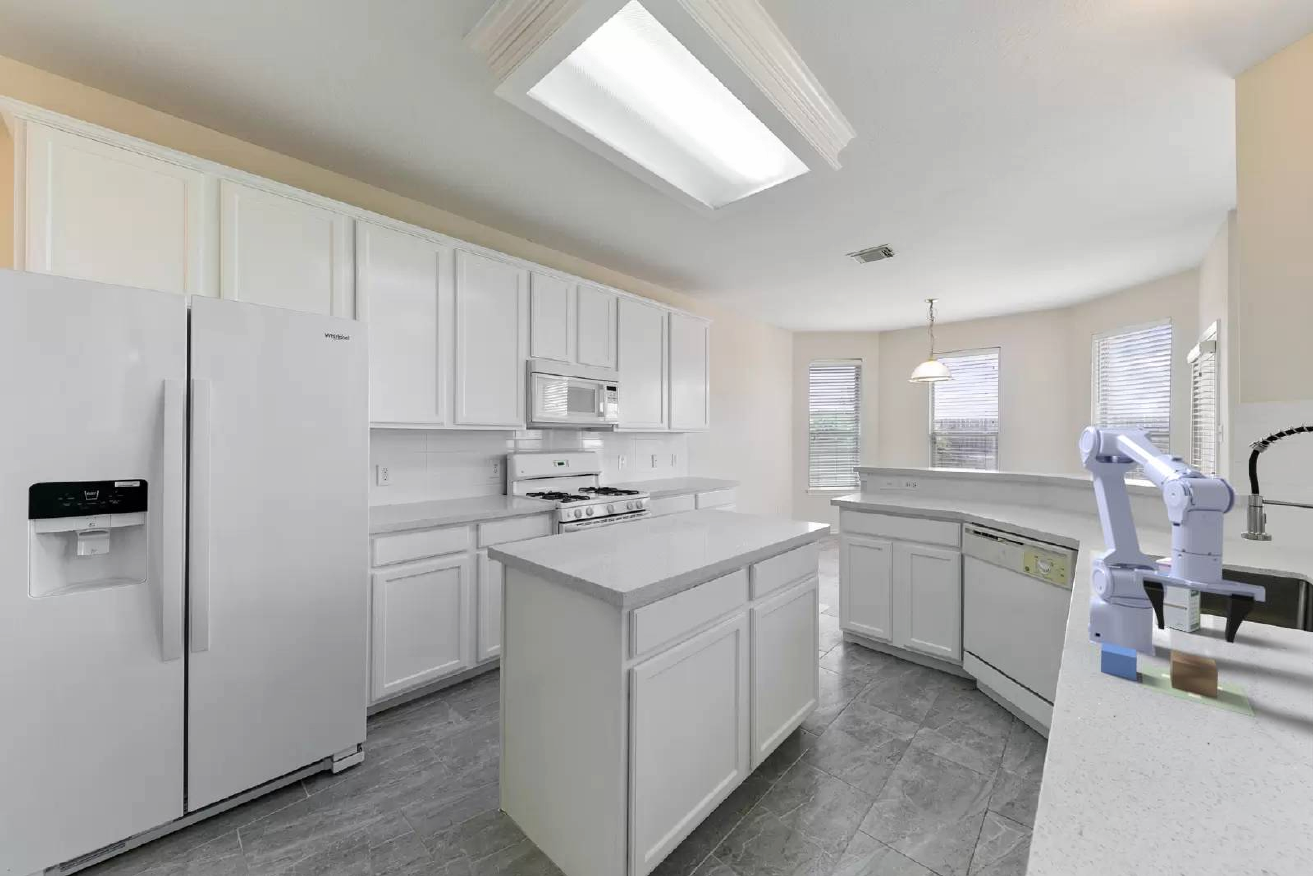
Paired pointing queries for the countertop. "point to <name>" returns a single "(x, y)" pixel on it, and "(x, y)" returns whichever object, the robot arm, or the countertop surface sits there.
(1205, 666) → the walnut block
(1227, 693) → the board
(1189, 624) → the syrup box
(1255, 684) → the countertop surface
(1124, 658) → the blue cube
